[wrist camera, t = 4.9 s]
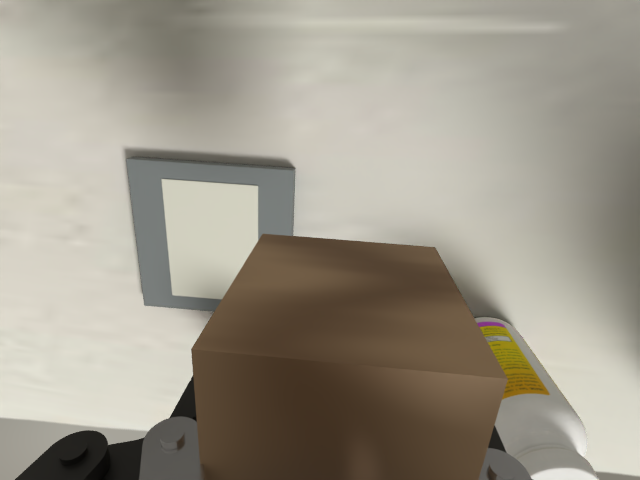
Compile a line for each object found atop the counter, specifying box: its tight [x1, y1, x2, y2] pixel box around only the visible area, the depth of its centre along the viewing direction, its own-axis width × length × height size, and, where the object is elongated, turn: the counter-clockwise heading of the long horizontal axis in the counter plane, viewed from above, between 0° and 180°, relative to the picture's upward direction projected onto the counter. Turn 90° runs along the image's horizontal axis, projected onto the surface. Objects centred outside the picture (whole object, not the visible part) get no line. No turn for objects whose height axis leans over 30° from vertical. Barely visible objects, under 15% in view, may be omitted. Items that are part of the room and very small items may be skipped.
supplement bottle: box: [474, 317, 599, 480], centre depth 26 cm, size 7×7×13 cm
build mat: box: [126, 157, 295, 311], centre depth 30 cm, size 12×12×1 cm
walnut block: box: [191, 234, 508, 480], centre depth 11 cm, size 6×8×6 cm
